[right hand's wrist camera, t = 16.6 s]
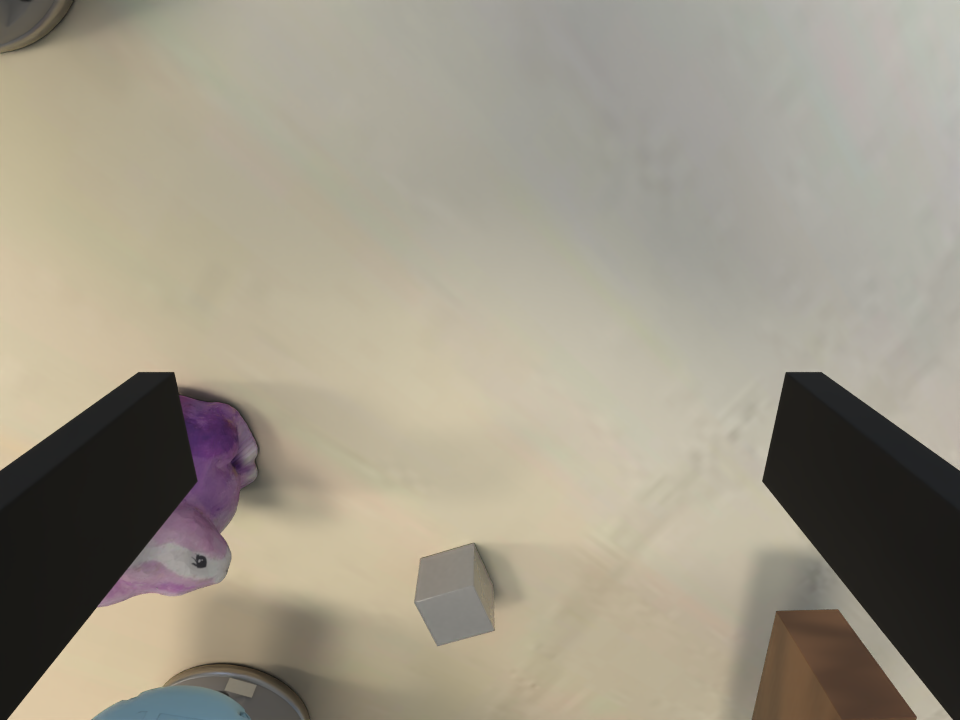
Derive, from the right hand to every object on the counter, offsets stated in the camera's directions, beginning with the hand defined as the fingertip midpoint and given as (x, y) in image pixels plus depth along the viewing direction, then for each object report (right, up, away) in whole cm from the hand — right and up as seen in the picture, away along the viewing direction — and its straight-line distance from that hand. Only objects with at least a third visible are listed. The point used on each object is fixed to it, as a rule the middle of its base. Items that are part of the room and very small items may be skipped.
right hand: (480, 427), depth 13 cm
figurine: (-21, -5, +33) cm, 39 cm away
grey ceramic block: (-2, -17, +38) cm, 42 cm away
